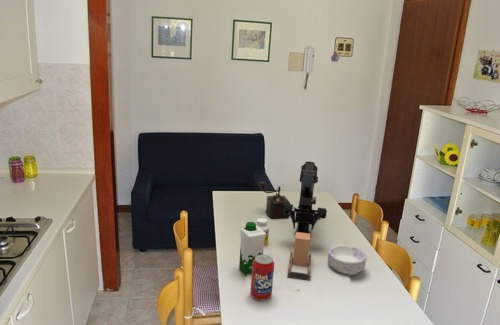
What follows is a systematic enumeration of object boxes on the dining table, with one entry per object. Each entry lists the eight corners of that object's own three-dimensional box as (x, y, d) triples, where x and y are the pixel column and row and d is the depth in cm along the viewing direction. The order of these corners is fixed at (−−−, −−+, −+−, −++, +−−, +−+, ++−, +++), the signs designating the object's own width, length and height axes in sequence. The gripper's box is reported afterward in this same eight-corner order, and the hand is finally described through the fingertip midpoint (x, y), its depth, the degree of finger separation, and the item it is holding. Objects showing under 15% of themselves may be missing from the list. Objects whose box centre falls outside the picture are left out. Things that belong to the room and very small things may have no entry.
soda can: (259, 286, 156) (261, 251, 152) (275, 295, 152) (279, 258, 148) (245, 295, 151) (248, 258, 146) (262, 304, 146) (265, 266, 142)
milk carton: (254, 264, 172) (258, 220, 167) (265, 274, 165) (269, 229, 159) (235, 268, 168) (238, 223, 163) (245, 279, 161) (249, 232, 155)
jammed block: (293, 257, 176) (295, 231, 173) (307, 259, 176) (310, 233, 172) (292, 264, 171) (295, 238, 167) (307, 266, 170) (309, 240, 167)
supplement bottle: (266, 250, 184) (268, 224, 180) (251, 248, 185) (253, 222, 182) (268, 243, 190) (270, 218, 187) (254, 241, 191) (256, 216, 188)
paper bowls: (319, 263, 176) (321, 247, 174) (349, 258, 182) (351, 242, 180) (340, 282, 162) (343, 265, 160) (371, 276, 168) (374, 259, 166)
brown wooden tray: (289, 258, 178) (290, 251, 177) (310, 261, 177) (311, 254, 176) (286, 280, 161) (287, 272, 160) (309, 284, 160) (310, 275, 159)
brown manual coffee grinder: (282, 210, 229) (285, 180, 224) (289, 218, 219) (292, 187, 214) (255, 211, 226) (258, 180, 221) (261, 220, 215) (263, 187, 210)
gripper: (285, 186, 180) (281, 219, 173) (328, 191, 177) (326, 225, 170) (285, 197, 190) (281, 229, 182) (326, 201, 187) (324, 234, 180)
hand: (302, 229), depth 178 cm, fingers open, 7 cm apart
